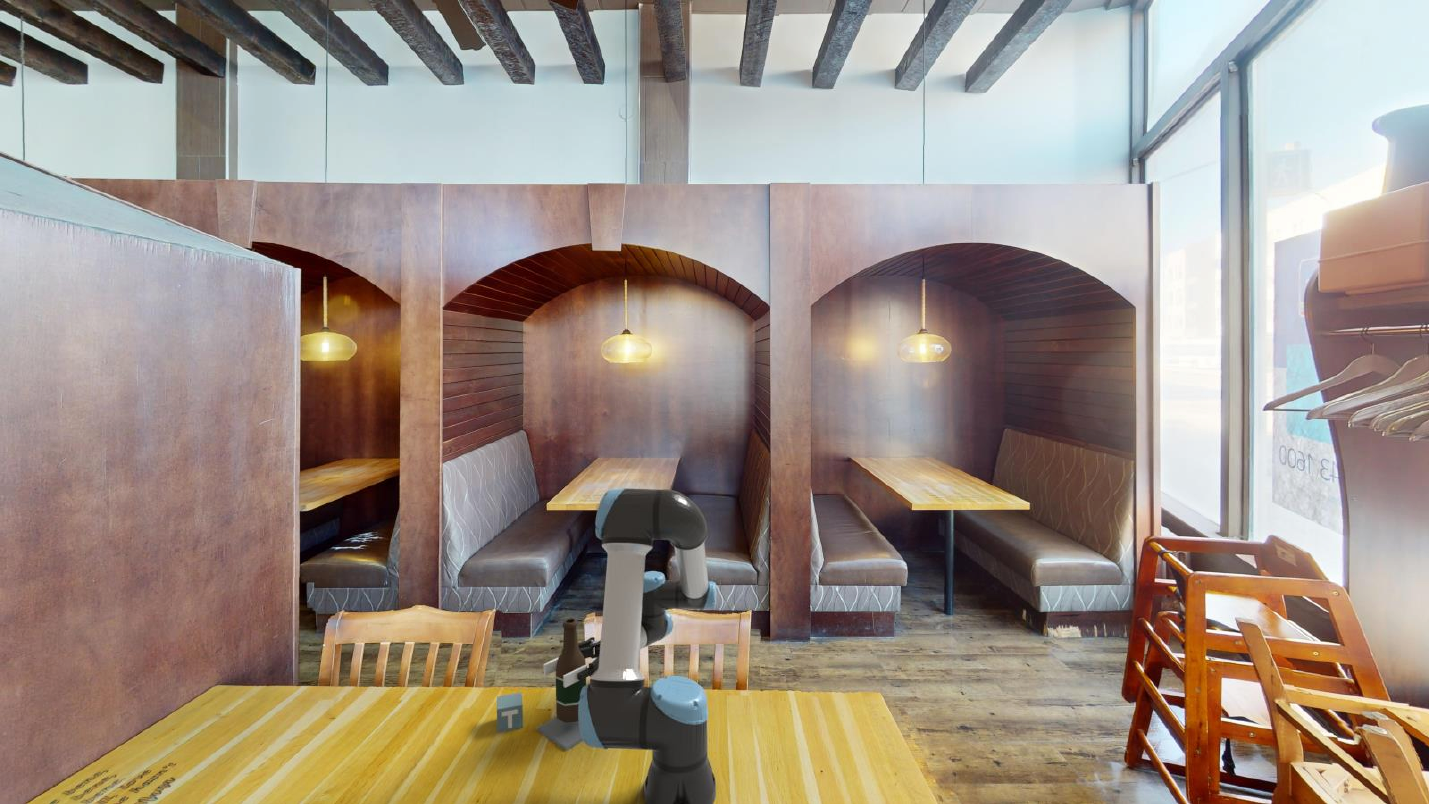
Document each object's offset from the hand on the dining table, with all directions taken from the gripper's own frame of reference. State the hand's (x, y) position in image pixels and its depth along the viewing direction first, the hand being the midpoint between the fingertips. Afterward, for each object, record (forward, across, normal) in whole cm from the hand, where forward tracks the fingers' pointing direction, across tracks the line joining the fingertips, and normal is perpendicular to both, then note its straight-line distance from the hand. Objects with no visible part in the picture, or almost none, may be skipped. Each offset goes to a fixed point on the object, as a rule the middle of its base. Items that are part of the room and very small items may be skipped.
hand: (554, 675), depth 142 cm
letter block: (+4, +14, -16) cm, 21 cm away
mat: (-5, 0, -16) cm, 16 cm away
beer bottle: (-5, 0, -12) cm, 13 cm away
